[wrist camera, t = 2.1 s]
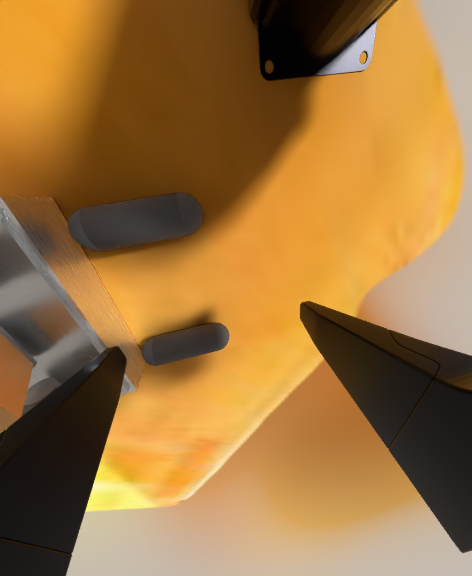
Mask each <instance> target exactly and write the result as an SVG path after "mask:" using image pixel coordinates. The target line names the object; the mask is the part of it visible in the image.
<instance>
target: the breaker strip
mask: <svg viewBox="0 0 472 576" xmlns="http://www.w3.org/2000/svg"><path fill="white" fill-rule="evenodd" d="M0 326H1V327H2V328H3V329H4V330H5V331H6V332H7V333H8V334H9V335H10V336H11V337H12V338H13V339H14V340H15V341H16V342H18V343H19V344H20V345H21V346H22V347H23V348H24V349H25V350H26V351H27V352H28V353H29V354H30V355H31V356H32V357H33V358H34V359H35V360H36V361H37V364H36V366H35V367H34V368H33V369H32V373H31V377H30V382H29V386H28V389H29V388H30V387H31V386H33V385H34V384H36V383H37V382H39V381H41V380H43V379H46V378H50V377H53V378H55V379H56V380H57V381H58V382H59V383H60V384H61V385H62V384H63V383H64V382H65V381H67V380H68V379H69V378H70V377H72V376H73V375H74V374H75V373H77V372H78V371H79V370H80V369H82V368H83V367H84V366H85V365H87V364H88V363H89V362H90V361H92V360H93V359H94V358H95V357H97V356H98V355H99V354H100V353H102V352H103V351H104V350H105V349H107V348H109V347H113V346H118V347H120V349H121V350H122V352H123V353H124V355H125V357H126V359H127V364H126V369H125V374H124V379H123V384H122V390H121V394H120V395H122V394H126V393H129V392H133V391H137V389H138V386H139V383H140V380H141V377H142V374H143V371H144V367H145V364H146V362H145V360H144V359H143V356H142V351H141V349H140V348H139V346H138V344H137V342H136V341H135V339H134V337H133V335H132V334H131V332H130V330H129V328H128V327H127V325H126V323H125V322H124V320H123V318H122V316H121V315H120V313H119V311H118V309H117V308H116V306H115V304H114V302H113V301H112V299H111V297H110V296H109V294H108V292H107V290H106V289H105V287H104V285H103V283H102V282H101V280H100V278H99V276H98V275H97V273H96V271H95V269H94V268H93V266H92V264H91V263H90V261H89V259H88V257H87V256H86V254H85V252H84V250H83V249H82V247H81V245H80V244H78V243H77V242H76V241H75V240H74V239H73V238H72V236H71V234H70V233H69V230H68V223H67V221H66V219H65V217H64V216H63V214H62V212H61V210H60V209H59V207H58V205H57V204H56V202H55V200H54V198H53V197H0Z"/></svg>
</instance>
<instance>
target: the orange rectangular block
mask: <svg viewBox="0 0 472 576" xmlns="http://www.w3.org/2000/svg"><path fill="white" fill-rule="evenodd" d="M36 364H37V361H36V360H35V359H34V358H33V357H32V356H31V355H30V354H29V353H28V352H27V351H26V350H25V349H24V348H23V347H22V346H21V345H20V344H19V343H18V342H16V341H15V340H14V339H13V338H12V337H11V336H10V335H9V334H8V333H7V332H6V331H5V330H4V329H3V328H2V327H1V326H0V431H2V430H4V429H6V428H7V427H9V426H10V425H12V424H13V423H14V422H15V421H17V420H18V419H19V418H20V417H21V415H22V411H23V407H24V403H25V398H26V394H27V390H28V386H29V382H30V377H31V373H32V369H33V368H34V367H35V366H36Z"/></svg>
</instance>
